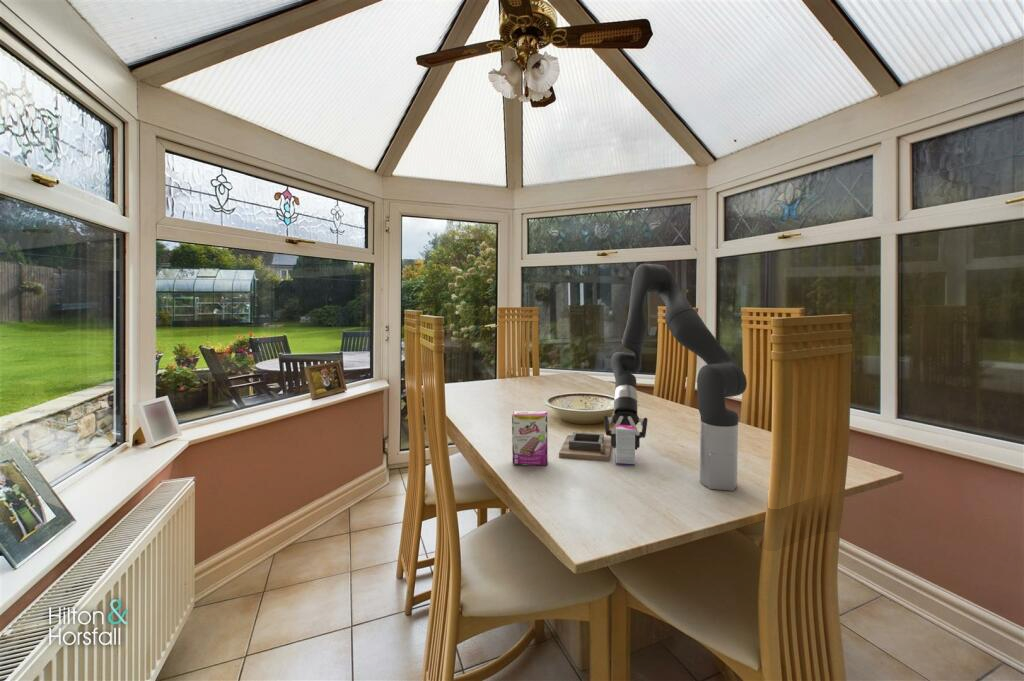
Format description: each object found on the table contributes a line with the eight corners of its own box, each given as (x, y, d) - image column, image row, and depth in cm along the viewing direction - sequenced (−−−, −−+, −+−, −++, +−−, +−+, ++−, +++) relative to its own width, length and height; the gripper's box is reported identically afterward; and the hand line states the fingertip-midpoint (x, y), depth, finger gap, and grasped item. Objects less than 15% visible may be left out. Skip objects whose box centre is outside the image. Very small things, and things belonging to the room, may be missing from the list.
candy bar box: (512, 465, 135) (511, 414, 133) (513, 460, 140) (512, 410, 138) (548, 466, 134) (547, 414, 132) (548, 460, 138) (547, 410, 137)
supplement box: (635, 466, 132) (635, 429, 131) (615, 465, 133) (615, 429, 132) (634, 459, 138) (633, 424, 137) (615, 458, 139) (614, 423, 138)
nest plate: (608, 461, 137) (608, 447, 136) (559, 457, 141) (558, 443, 141) (611, 441, 156) (611, 429, 156) (568, 438, 160) (567, 427, 160)
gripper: (603, 394, 143) (600, 440, 132) (648, 396, 139) (649, 443, 128) (604, 406, 148) (602, 451, 138) (647, 408, 144) (649, 454, 134)
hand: (625, 447), depth 133 cm, fingers closed on supplement box, 6 cm apart
